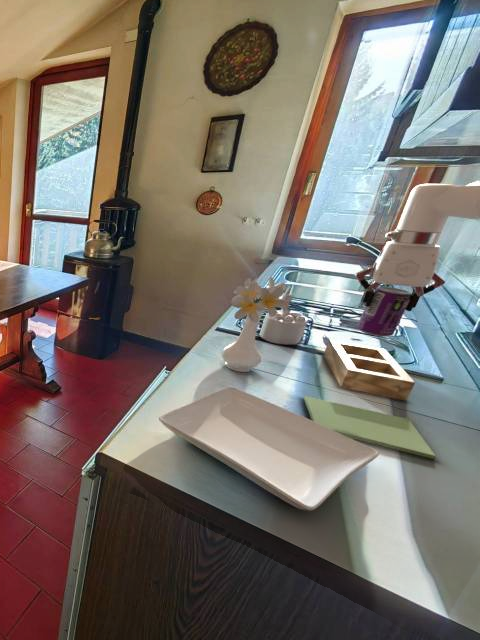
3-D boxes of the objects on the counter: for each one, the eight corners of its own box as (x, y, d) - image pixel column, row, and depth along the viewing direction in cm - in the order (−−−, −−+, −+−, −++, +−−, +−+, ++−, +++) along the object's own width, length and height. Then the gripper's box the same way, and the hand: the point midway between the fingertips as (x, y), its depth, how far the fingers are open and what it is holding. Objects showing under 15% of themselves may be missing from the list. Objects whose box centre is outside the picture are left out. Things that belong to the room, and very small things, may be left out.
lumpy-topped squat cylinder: (304, 337, 128) (313, 313, 125) (291, 347, 121) (300, 322, 117) (267, 328, 136) (275, 304, 132) (253, 337, 128) (261, 312, 125)
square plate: (152, 431, 82) (156, 415, 80) (226, 397, 94) (230, 383, 93) (304, 526, 60) (313, 507, 59) (374, 466, 72) (383, 449, 71)
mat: (407, 422, 85) (408, 419, 85) (434, 459, 74) (436, 456, 74) (303, 398, 94) (304, 395, 94) (314, 428, 83) (315, 425, 83)
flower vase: (205, 373, 105) (231, 284, 95) (218, 351, 118) (241, 270, 108) (264, 389, 98) (298, 294, 88) (270, 363, 111) (300, 278, 101)
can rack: (377, 364, 111) (384, 348, 109) (405, 400, 93) (415, 382, 91) (323, 354, 116) (329, 339, 114) (340, 387, 99) (348, 369, 97)
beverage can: (392, 340, 100) (415, 296, 95) (355, 332, 104) (375, 289, 99) (390, 332, 105) (412, 290, 100) (355, 325, 109) (374, 284, 104)
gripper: (371, 238, 96) (345, 306, 103) (475, 243, 87) (439, 317, 94) (362, 234, 102) (338, 299, 109) (459, 238, 93) (427, 308, 100)
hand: (385, 306), depth 101 cm, fingers closed on beverage can, 7 cm apart
